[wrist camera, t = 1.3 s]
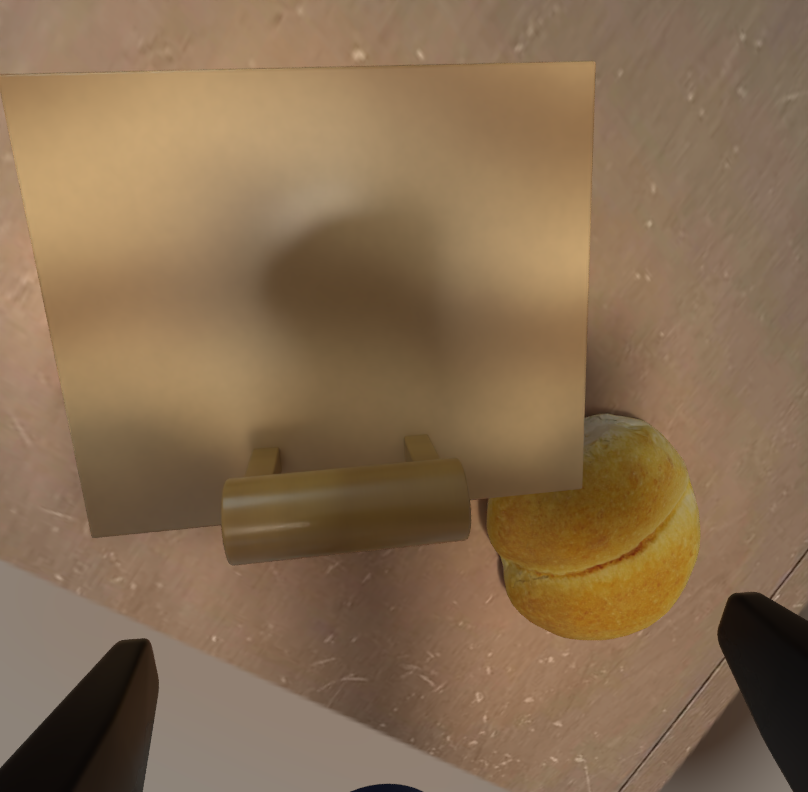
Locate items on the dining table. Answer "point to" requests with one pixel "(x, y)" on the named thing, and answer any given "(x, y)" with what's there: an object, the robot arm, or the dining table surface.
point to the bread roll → (602, 536)
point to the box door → (313, 293)
